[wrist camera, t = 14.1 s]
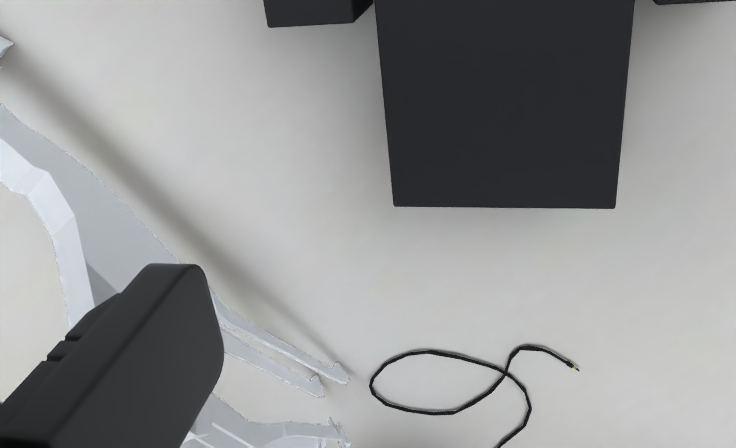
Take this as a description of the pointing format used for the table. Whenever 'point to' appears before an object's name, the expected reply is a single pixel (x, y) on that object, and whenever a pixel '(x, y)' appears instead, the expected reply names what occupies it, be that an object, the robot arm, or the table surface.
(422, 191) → the pad
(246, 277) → the table surface
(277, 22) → the pad
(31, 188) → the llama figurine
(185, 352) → the robot arm
